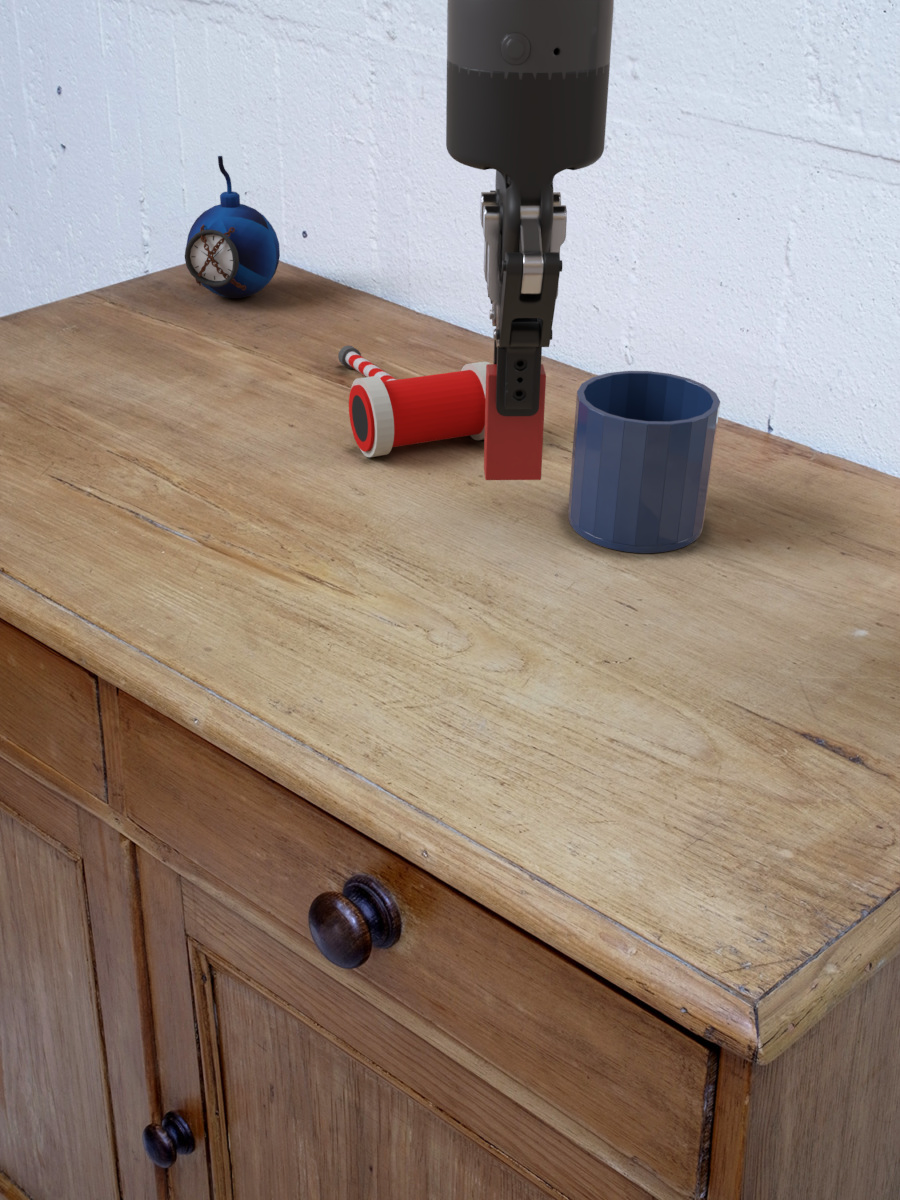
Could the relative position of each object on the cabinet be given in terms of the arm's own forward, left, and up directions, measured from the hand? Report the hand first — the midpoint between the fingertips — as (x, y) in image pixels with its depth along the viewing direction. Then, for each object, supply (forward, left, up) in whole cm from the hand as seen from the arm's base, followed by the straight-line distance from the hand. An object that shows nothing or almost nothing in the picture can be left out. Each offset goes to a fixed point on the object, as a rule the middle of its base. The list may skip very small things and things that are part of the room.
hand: (515, 403), depth 69 cm
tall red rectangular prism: (0, 0, -4) cm, 4 cm away
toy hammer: (+7, -41, -19) cm, 46 cm away
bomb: (+25, -74, -19) cm, 81 cm away
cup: (-11, -22, -18) cm, 31 cm away
